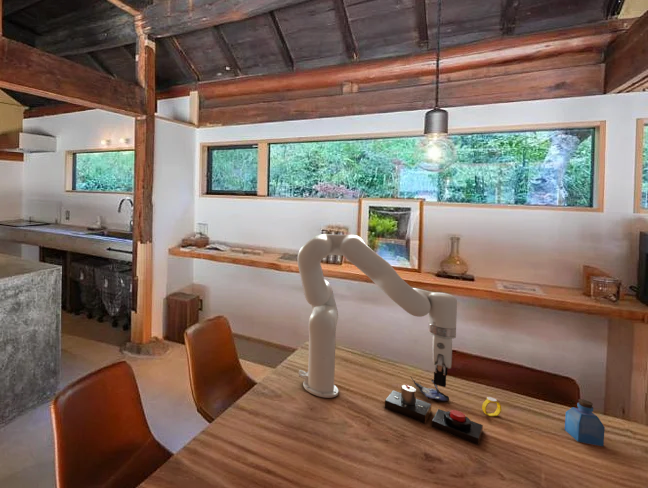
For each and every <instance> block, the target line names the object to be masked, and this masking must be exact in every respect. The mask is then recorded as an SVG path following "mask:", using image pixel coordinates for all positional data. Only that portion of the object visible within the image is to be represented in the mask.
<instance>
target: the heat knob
mask: <svg viewBox="0 0 648 488" xmlns="http://www.w3.org/2000/svg"><path fill="white" fill-rule="evenodd" d="M400 393H401V401H402V402H403V403H405V404H407V405H415V404H416V399H417V389H416V388H415V387H414V386H411V385H409V384H407V383H406V384H402V385H401V389H400Z"/></svg>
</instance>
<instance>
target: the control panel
mask: <svg viewBox="0 0 648 488" xmlns="http://www.w3.org/2000/svg"><path fill="white" fill-rule="evenodd" d="M384 409H386V410H388V411H391V412H393V413H396V414H399V415H401V416H404V417H406V418H409V419H411V420H413V421H416V422H419V423H421V424H424V425H425V424H426V422H427V421H428V419H429V417H430V416H431V413H432V403H430V402H427V401H425V400H421V399H419V398H416V404H415V405H407V404H405V403H403V402H402V401H401V391H396V390H394V389H393V390H392V391H391V392H390V393H389V395H388V396H387V397H386V398H385V400H384Z"/></svg>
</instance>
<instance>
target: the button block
mask: <svg viewBox="0 0 648 488" xmlns="http://www.w3.org/2000/svg"><path fill="white" fill-rule="evenodd" d="M450 411H451V410H446V411H445V410H443V409H440V408H438V409H437V410H436V413H435V415H434V416H433V418H432V420H431V427H432V428H434V429H436V430H439V431H441V432H444V433H446V434H449V435H452V436H454V437H456V438H459V439H462V440H464V441H467V442H468V443H472V444H474V445H477V446H479V444H480V440H481V437H482V435H483V430H484V429H483V428H484V425H483V424H482V423H479V422H476V421H473V420H471V419H470V418H469V417H468V416H466V415H465V422H460V421H457V420H454V419H452V418H451V417H450Z"/></svg>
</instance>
